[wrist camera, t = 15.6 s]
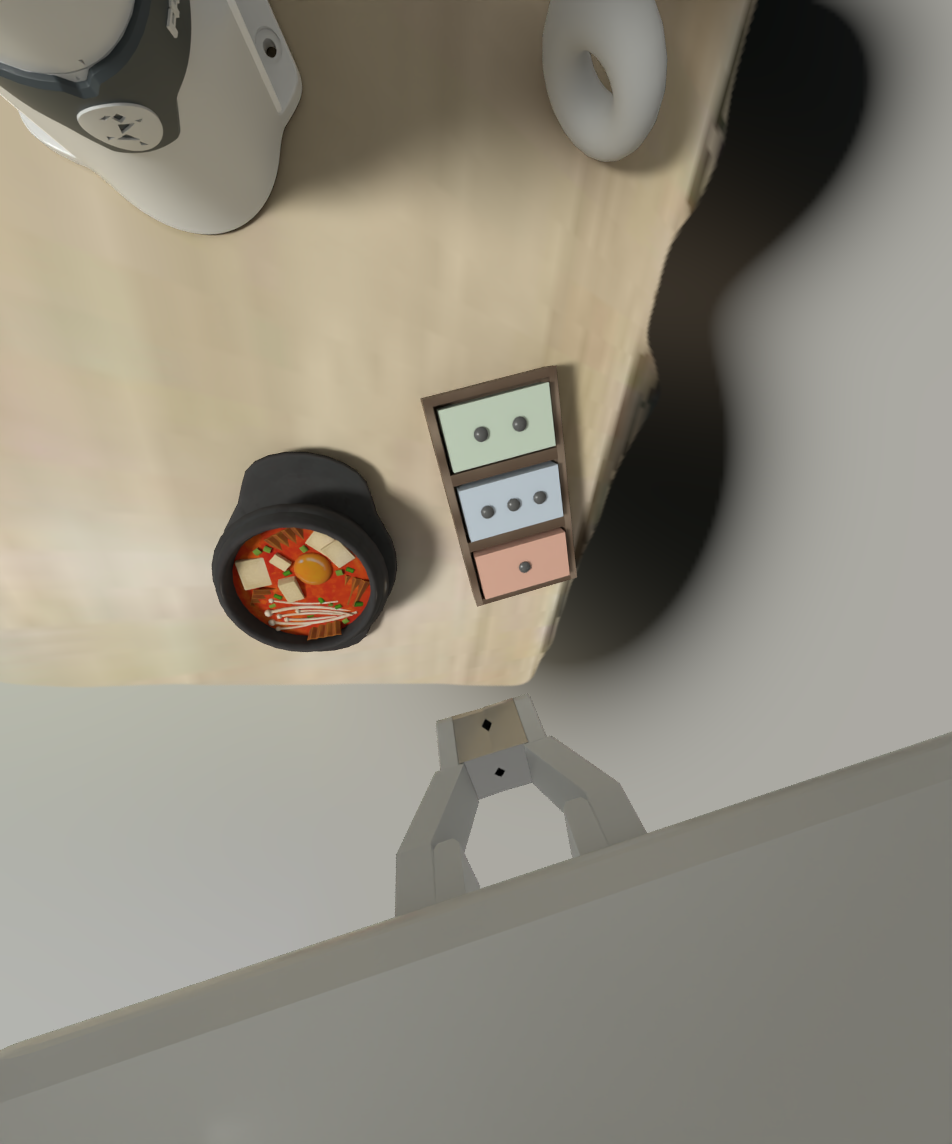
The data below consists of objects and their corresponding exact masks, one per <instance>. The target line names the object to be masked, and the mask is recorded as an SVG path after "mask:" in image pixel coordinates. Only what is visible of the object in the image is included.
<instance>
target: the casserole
mask: <svg viewBox="0 0 952 1144" xmlns="http://www.w3.org/2000/svg"><path fill="white" fill-rule="evenodd" d="M396 571H397V561H396V553H395V549H394V546H393V542H392V540H391V538H390V536H389V534H388V532H387V530H386V529H385V527H384V525H383V523H382V521H381V520H380V518H379V516H378V514H377V512H376V509H375V506H374V502H373V499H372V496H371V493H370V491H369V488H368V485H367V482H366V481H365V480H364V479H363V478H362V476H361V475H360V474H359V473H358V472H357V471H356V470H354V469H353V468H351V467H350V466H348V465H346V464H345V463H343V462H341V461H338V460H335V459H333V458H330V457H327V456H324V455H319V454H314V453H309V452H283V453H278V454H272V455H268V456H266V457H263V458H261V459H259V460H257V461H255V462H254V463H253V464H252V465H251V466H250V467H249V468H248V469H247V470H246V471H245V475H244V478H243V482H242V486H241V491H240V496H239V501H238V504H237V506H236V508H235V510H234V512H233V514H232V516H231V518H230V520H229V522H228V524H227V526H226V528H225V530H224V534H223V535H222V536H221V537H220V540H219V542H218V544H217V546H216V548H215V550H214V555H213V560H212V576H213V582H214V585H215V588H216V593H217V596H218V599H219V602H220V604H221V606H222V607H223V609H224V611H225V612H226V614H227V616H228V617H229V618H230V619H231V620H232V621H233V622H234V623H235V625H236V626H237V627H239V628H240V629H241V630H242V631H244V632H245V633H246V634H248V635H249V636H251V637H252V638H254V639H256V640H258V641H260V642H262V643H264V644H267V645H270V646H272V647H275V648H279V649H283V650H288V651H297V652H312V651H332V650H338V649H342V648H346V647H350V646H352V645H354V644H357V643H359V642H360V641H361V640H362V639H363V638H364V637H366V635H367V633H368V631H369V628H370V626H371V624H372V623H373V622H374V621H375V620H376V619H377V617H378V616H379V614H380V613H381V611H382V610H383V607H384V605H385V602H386V600H387V597H388V596H389V594H390V592H391V590H392V587H393V585H394V582H395V577H396Z"/></svg>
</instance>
